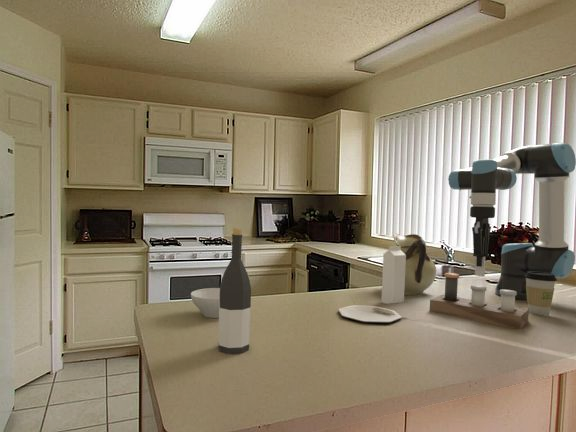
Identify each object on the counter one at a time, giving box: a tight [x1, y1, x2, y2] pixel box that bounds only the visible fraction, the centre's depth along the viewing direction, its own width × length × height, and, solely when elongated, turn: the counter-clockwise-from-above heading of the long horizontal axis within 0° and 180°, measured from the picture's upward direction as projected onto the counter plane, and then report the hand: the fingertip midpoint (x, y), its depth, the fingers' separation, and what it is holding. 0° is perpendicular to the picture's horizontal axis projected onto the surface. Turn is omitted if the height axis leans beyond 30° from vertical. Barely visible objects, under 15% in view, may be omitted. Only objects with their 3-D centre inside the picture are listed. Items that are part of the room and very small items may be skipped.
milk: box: [381, 245, 406, 305], centre depth 155 cm, size 6×6×22 cm
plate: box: [337, 304, 402, 324], centre depth 136 cm, size 20×20×2 cm
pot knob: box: [444, 272, 460, 301], centre depth 143 cm, size 5×5×9 cm
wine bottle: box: [217, 228, 252, 355], centre depth 101 cm, size 8×8×30 cm
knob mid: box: [470, 284, 487, 307], centre depth 137 cm, size 5×5×9 cm
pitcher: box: [393, 233, 437, 296], centre depth 176 cm, size 22×24×25 cm
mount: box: [429, 294, 529, 330], centre depth 137 cm, size 12×28×5 cm, turn 49°
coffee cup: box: [525, 271, 557, 317], centre depth 146 cm, size 10×10×15 cm
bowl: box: [190, 287, 220, 319], centre depth 131 cm, size 16×16×7 cm
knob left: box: [499, 289, 517, 312], centre depth 131 cm, size 5×5×9 cm
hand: (479, 275), depth 137 cm, fingers closed
